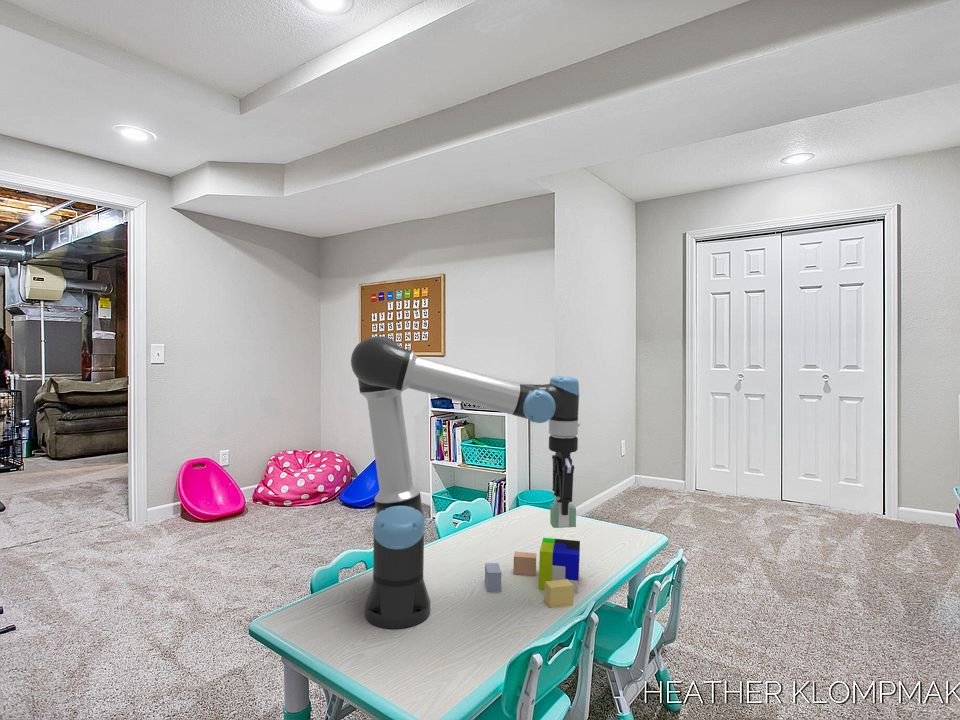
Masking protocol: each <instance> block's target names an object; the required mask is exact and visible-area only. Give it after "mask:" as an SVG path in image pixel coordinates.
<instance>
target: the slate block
mask: <svg viewBox="0 0 960 720" xmlns="http://www.w3.org/2000/svg"><path fill="white" fill-rule="evenodd" d="M484 584H485V587H486V591H487V592H486V593H494V592H497V593H498V592H502V570H501V567H500V564H499V562H485V563H484Z"/></svg>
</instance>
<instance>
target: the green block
mask: <svg viewBox="0 0 960 720" xmlns="http://www.w3.org/2000/svg"><path fill="white" fill-rule="evenodd" d="M549 506H550V508H549V509H550V513H549V514H550V518H549V520H550V521H549V522H550V523H549V524H550V526H552V528H553V529H559V528H561V529H562V528H563V529H565V528H567V527H558V505H554V504H550V505H549ZM568 528H577V507H576V506H575V505H574V504H572V503H569V527H568Z"/></svg>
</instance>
